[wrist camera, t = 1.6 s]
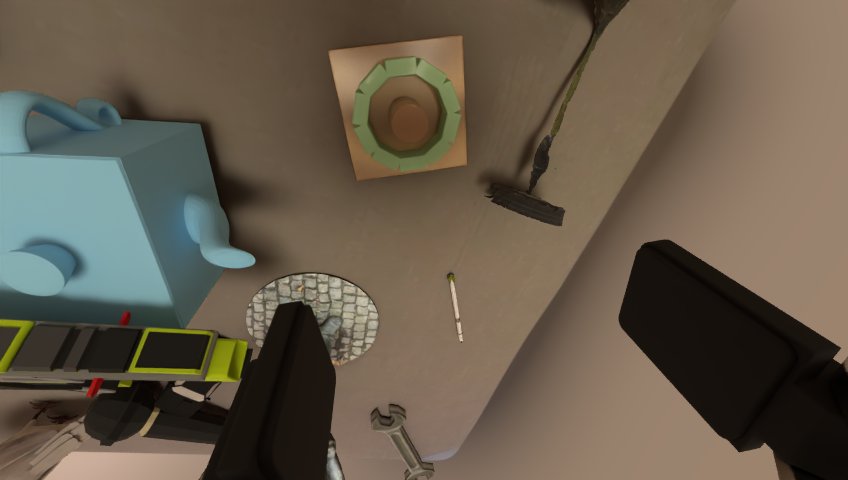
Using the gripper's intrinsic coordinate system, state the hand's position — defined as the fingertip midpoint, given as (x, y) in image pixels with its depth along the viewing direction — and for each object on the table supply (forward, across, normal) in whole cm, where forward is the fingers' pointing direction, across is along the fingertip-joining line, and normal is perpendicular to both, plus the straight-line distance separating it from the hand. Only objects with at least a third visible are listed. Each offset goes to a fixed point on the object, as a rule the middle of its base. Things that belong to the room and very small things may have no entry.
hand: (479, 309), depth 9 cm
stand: (+19, 0, -3) cm, 20 cm away
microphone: (+18, +21, +35) cm, 45 cm away
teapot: (+19, +19, +1) cm, 27 cm away
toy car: (+19, +25, +20) cm, 37 cm away
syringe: (+18, -3, +18) cm, 26 cm away
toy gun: (+14, +26, +15) cm, 33 cm away
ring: (+18, 0, -3) cm, 18 cm away
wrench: (+19, +8, +33) cm, 38 cm away
